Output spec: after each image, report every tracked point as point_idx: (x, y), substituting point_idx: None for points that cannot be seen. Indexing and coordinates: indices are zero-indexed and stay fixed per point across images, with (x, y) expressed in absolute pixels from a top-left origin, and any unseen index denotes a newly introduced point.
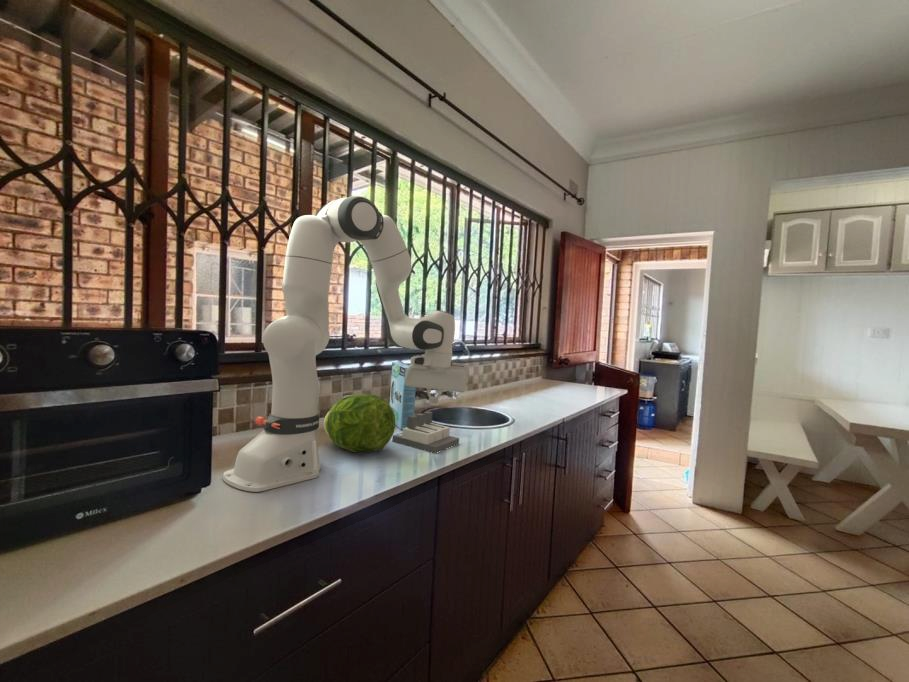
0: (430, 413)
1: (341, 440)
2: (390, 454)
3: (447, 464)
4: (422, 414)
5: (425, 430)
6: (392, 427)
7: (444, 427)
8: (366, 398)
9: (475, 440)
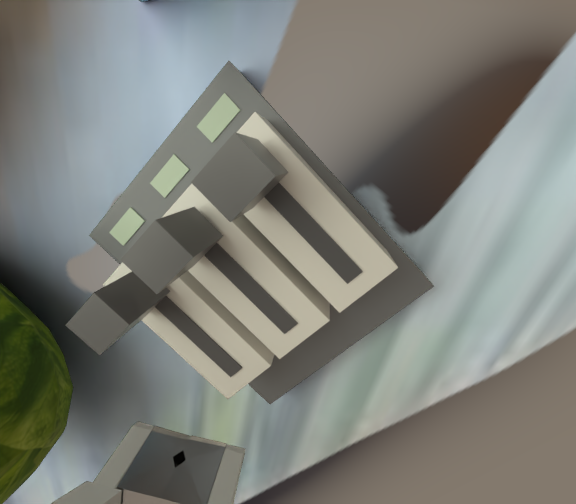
0: (252, 201)
1: None
2: (115, 373)
3: (295, 473)
4: (172, 266)
5: (223, 327)
6: (23, 473)
7: (356, 273)
8: None
9: (562, 212)
